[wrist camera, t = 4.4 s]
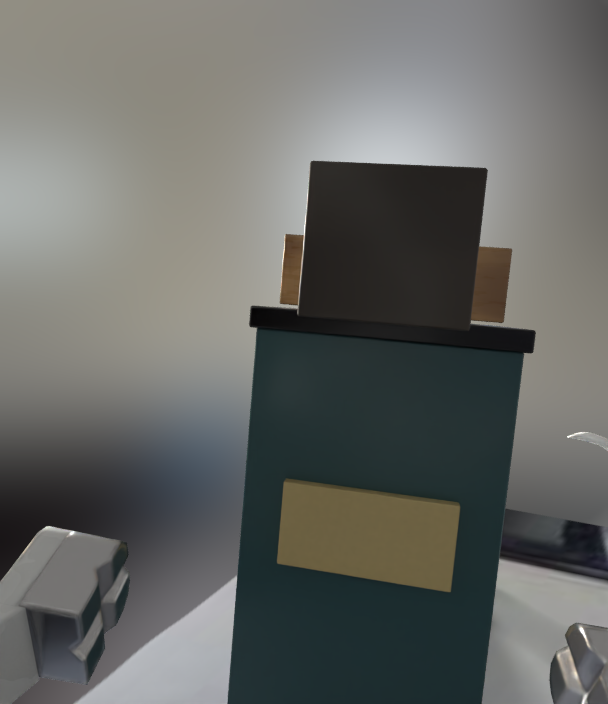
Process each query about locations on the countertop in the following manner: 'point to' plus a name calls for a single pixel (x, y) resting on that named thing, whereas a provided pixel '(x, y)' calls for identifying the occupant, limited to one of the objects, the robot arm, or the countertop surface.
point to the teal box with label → (372, 510)
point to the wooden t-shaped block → (395, 248)
